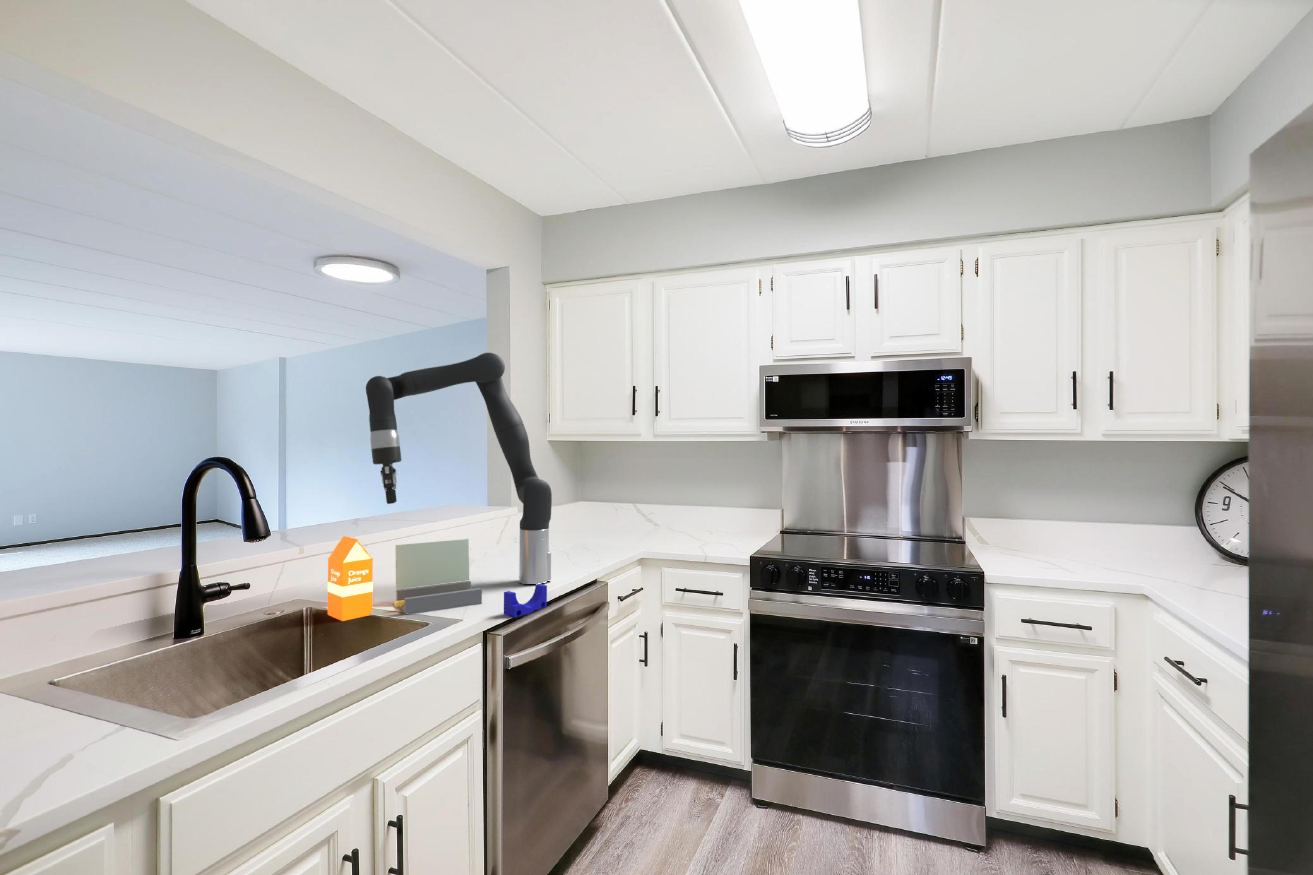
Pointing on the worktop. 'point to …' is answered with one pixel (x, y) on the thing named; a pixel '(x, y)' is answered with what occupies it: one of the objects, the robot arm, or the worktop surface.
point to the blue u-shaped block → (534, 603)
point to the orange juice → (350, 580)
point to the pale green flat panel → (432, 563)
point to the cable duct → (437, 597)
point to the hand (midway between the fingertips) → (391, 503)
